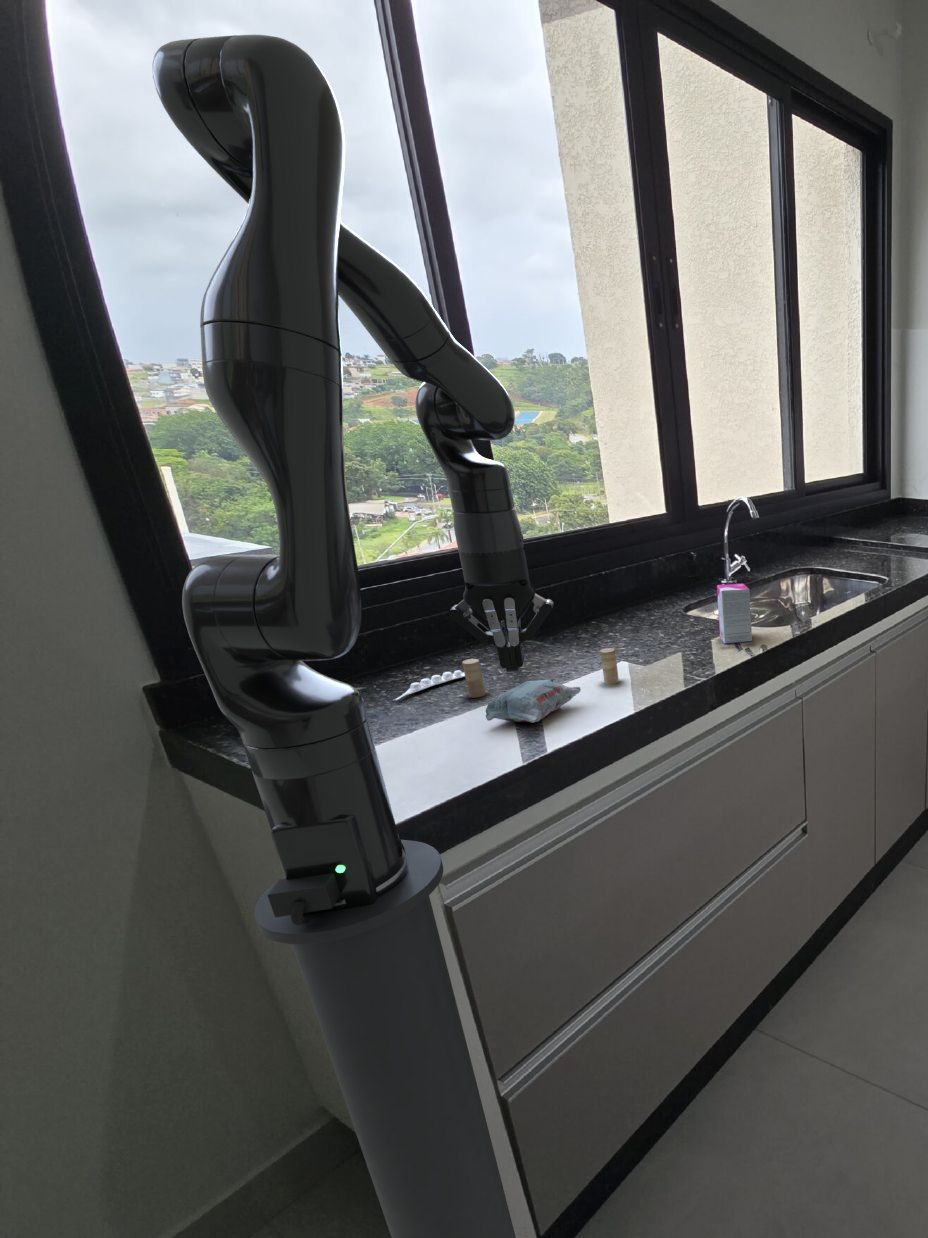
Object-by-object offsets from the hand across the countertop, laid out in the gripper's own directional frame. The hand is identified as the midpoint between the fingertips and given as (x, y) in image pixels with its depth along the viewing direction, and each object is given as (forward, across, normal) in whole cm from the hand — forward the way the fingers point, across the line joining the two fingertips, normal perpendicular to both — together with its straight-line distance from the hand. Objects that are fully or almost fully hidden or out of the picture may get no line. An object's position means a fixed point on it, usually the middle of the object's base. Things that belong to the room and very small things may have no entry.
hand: (514, 669), depth 102 cm
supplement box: (+12, +34, +41) cm, 54 cm away
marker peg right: (+12, +10, +23) cm, 28 cm away
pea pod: (+12, -18, +29) cm, 36 cm away
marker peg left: (+12, -10, +23) cm, 28 cm away
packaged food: (+12, 0, +11) cm, 16 cm away
